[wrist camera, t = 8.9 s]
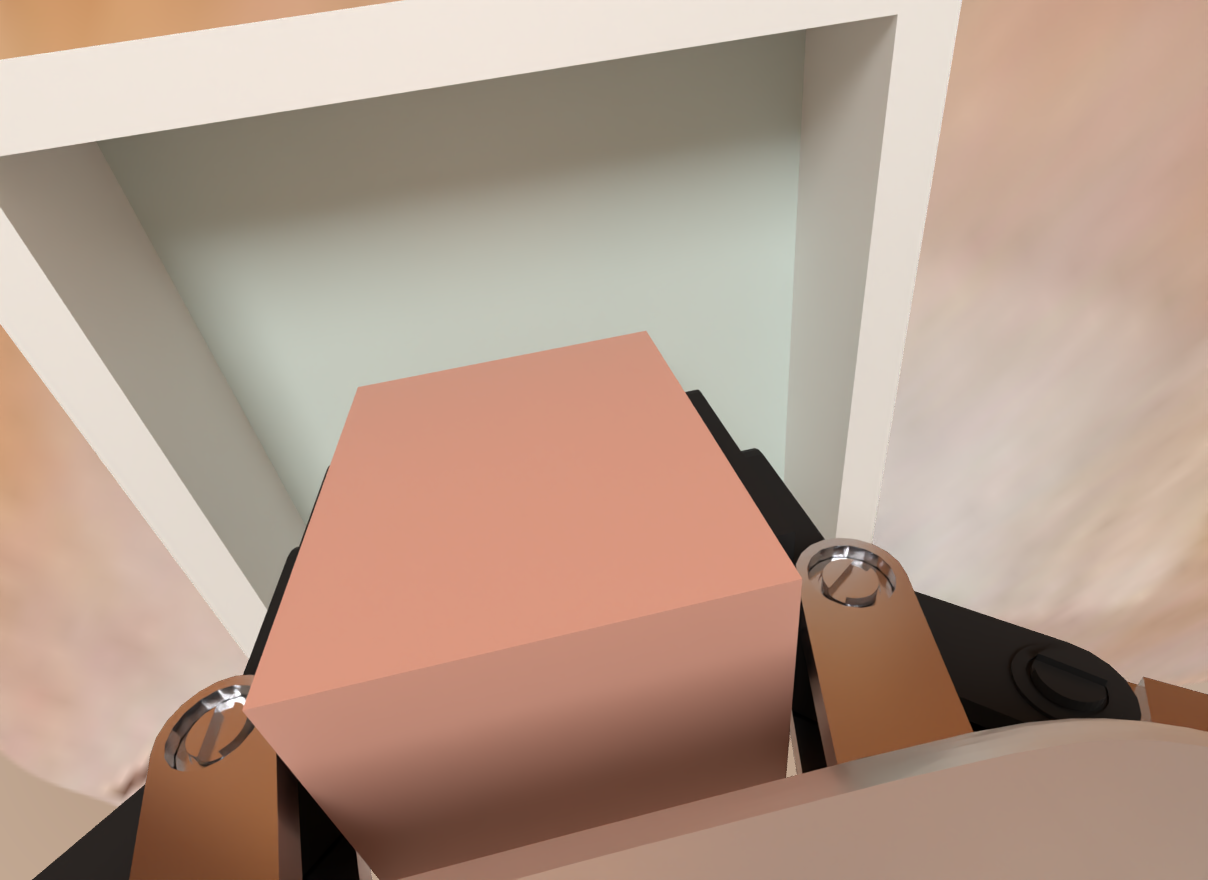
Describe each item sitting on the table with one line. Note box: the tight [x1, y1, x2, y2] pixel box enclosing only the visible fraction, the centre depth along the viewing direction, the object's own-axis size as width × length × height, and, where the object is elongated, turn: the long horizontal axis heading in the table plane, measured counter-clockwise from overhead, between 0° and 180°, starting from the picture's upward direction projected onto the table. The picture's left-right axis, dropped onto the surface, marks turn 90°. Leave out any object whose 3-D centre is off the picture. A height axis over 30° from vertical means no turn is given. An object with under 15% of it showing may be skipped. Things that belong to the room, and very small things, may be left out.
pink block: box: [242, 331, 802, 880], centre depth 9 cm, size 5×5×6 cm
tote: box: [0, 0, 962, 659], centre depth 14 cm, size 15×15×4 cm
